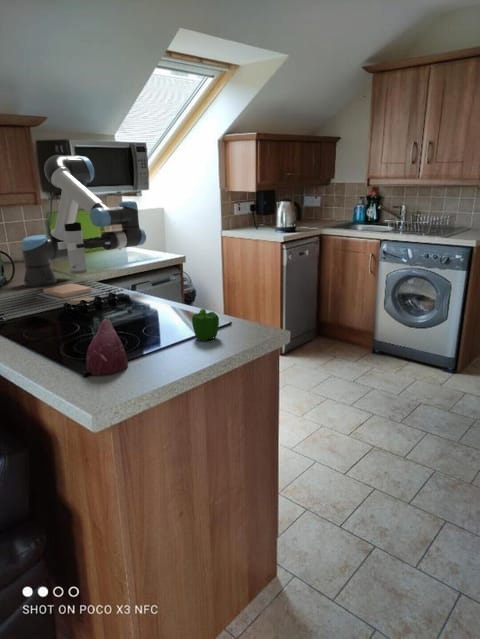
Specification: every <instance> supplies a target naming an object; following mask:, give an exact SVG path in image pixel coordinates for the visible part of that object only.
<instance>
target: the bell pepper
mask: <svg viewBox="0 0 480 639" xmlns="http://www.w3.org/2000/svg"><path fill="white" fill-rule="evenodd" d="M191 320H192V321H191V322H192V328H193V333H194V334H195V337H196V336H197V337H196V338H197V340H199V339H200V340H199V341H201V340H208V339H211V338H212V339H214V338H213V337H215V338H216V337H217V335H218V332H219V331H218V330H219V325H220V318H219V316H218V314H216V313H215V312H214V311H211V312H208V313H207V310H206V309H205V308H201V309H200V310H199V312H198V313H192V317H191ZM212 339H211V340H212ZM208 341H209V340H208Z"/></svg>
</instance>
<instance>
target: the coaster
mask: <svg viewBox="0 0 480 639" xmlns="http://www.w3.org/2000/svg"><path fill="white" fill-rule="evenodd" d="M94 298H95V297H91V296H89V297H87V296H86V297H83V296H82V297H74V298H70V299H69V300H67V301H66V302H65V304H66V303H68V304H71V305H70V306H72V305H77V304H79V303H80V301H81V300H85V301H87V302H90V301H93V300H94Z"/></svg>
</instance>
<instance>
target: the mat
mask: <svg viewBox="0 0 480 639" xmlns="http://www.w3.org/2000/svg"><path fill="white" fill-rule="evenodd" d="M91 289H92V292H90V293H85V294H80V295H76V296H71V297H66V298H61V297H57V296H53V295H49V294H45V293H44V292H40V293H36V295H38V296H42V297H44V298H45V297H46V298H49V299H51V300H57V301H63V300H67V299H69V300H70V299H74V298H79V297H83V296H86V295H92V294H96V293H100V292H105V290H104V289H100V288H95V287H91Z"/></svg>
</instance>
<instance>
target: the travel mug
mask: <svg viewBox="0 0 480 639" xmlns="http://www.w3.org/2000/svg"><path fill="white" fill-rule="evenodd" d="M64 226H65V232H66V233H65V235H66V242H67V244H68V243H76V242H83V239H84V238H83V229H82V223H81V222H79V221H75V222H74V223H71V224H64ZM67 250H68V246H67ZM85 255H86V254H85V248H84V249H79V250H71V251H68V258H67V259H68V264H69V269H70V270H69V273H70V274H72V275H77V274H78V275H79V274H80V275H82V274H85V273H87V272H88V271H87V262H86V256H85Z"/></svg>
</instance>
